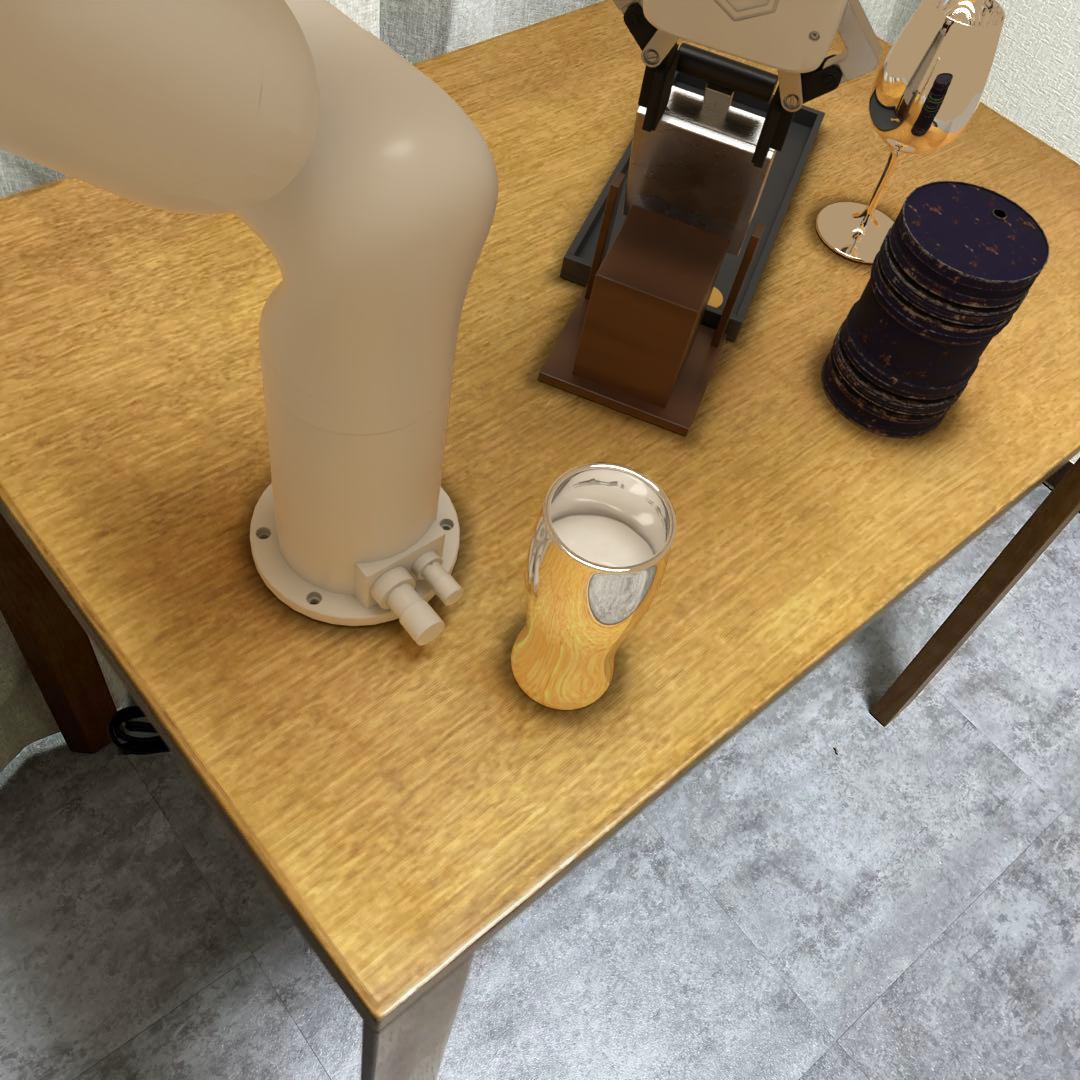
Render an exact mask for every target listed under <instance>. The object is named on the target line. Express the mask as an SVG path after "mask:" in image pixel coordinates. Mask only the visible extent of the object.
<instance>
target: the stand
mask: <svg viewBox="0 0 1080 1080" xmlns="http://www.w3.org/2000/svg"><path fill="white" fill-rule="evenodd" d="M625 176H626V175H625V174H623V173H620V172H618V173H617V174H616V176H615V178H614V180H613V181H612V183H611V185H610V190H609V194H608V198H607V202H606V207H605V211H604V215H603V220H602V224H601V228H600V232H599V237H598V241H597V245H596V250H595V254H594V258H593V262H592V267H591V271H590V275H589V279H588V284H587V286H584V287H585V288H584V289H583V290H582V293H581V294H580V296H579V298H578V301H577V302H576V304H575V306H574V308H573V310H572V312H571V313H570V315H569V317H568V318H567V321H566V322H565V324H564V326H563V328H562V330H561V332H560V333H559V335H558V337H557V339H556V341H555V342H554V344H553V346H552V348H551V350H550V352H549V354H548V355H547V357H546V359H545V361H544V363H543V365H542V366H541V368H540V370H539V373H538V378H537V379H538V381H540V382H543V383H546V384H548V385H550V386H554V387H556V388H559V389H561V390H564V391H567V392H569V393H572V394H574V395H577V396H579V397H582V398H585V399H587V400H590V401H592V402H595V403H598V404H600V405H603V406H606V407H608V408H611V409H613V410H617V411H619V412H622V413H624V414H627V415H629V416H632V417H634V418H637V419H640V420H642V421H646V422H648V423H650V424H653V425H655V426H658V427H660V428H663V429H667V430H668V431H671V432H674V433H677V434H679V435H682V436H684V437H687V436H688V434H689V431H690V429H691V426H692V425H693V422H694V420H695V417H696V414H697V412H698V409H699V407H700V404H701V402H702V400H703V397H704V395H705V392H706V389H707V387H708V385H709V382H710V379H711V377H712V374H713V372H714V370H715V367H716V365H717V363H718V360H719V357H720V355H721V352H722V350H723V347H724V345H725V342H726V340H727V339H726V338H727V334H725V333H724V331H725V329H726V326H727V324H728V321H729V318H730V316H731V313H732V311H733V308H734V305H735V303H736V300H737V298H738V295H739V292H740V290H741V287H742V285H743V282H744V279H745V277H746V274H747V272H748V269H749V266H750V264H751V261H752V259H753V256H754V253H755V251H756V248H757V246H758V243H759V240H760V238H761V235H762V233H763V230H764V227H765V225H764V224H762V223H759V222H757V223H756V225H755V228H754V230H753V233H752V235H751V238H750V240H749V243H748V246H747V248H746V251H745V254H744V256H743V259H742V262H741V264H740V267H739V270H738V272H737V275H736V278H735V280H734V283H733V286H732V288H731V291H730V294H729V296H728V299H727V302H726V304H725V307H724V310H723V312H722V315H721V318H720V320H719V323H718V326H717V328H716V330H715V329H712V328H709V327H707V326H704V325H701V321H702V318H703V316H704V313H705V310H706V307H707V304H708V302H709V299H710V296H711V293H712V290H713V288H714V285H715V282H716V279H717V276H718V274H719V271H720V268H721V265H722V262H723V260H724V257H725V254H726V251H727V248H728V246H729V243H730V239H727V238H725V237H722V236H719V235H716V234H714V233H711V232H708V231H705V230H703V229H700V228H697V227H694V226H692V225H689V224H686V223H683V222H681V221H678V220H675V219H672V218H670V217H667V216H664V215H661V214H659V213H656V212H653V211H650V210H648V209H645V208H642V207H639V206H636V205H633V207H632V208H631V210H630V212H629V214H628V216H627V218H626V219H625V221H624V223H623V225H622V227H621V229H620V231H619V232H618V234H617V236H616V238H615V240H614V242H613V243H612V245H611V247H610V249H609V251H608V253H607V250H608V246H609V242H610V238H611V234H612V230H613V225H614V221H615V217H616V213H617V209H618V205H619V201H620V197H621V193H622V189H623V185H624V181H625ZM606 254H607V255H606Z"/></svg>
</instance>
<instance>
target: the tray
mask: <svg viewBox="0 0 1080 1080" xmlns="http://www.w3.org/2000/svg"><path fill="white" fill-rule="evenodd" d="M707 84H708V82H705V81H702V80H699V79H696V78H693V77H690V76H687V75H685V74H682V73H679V72H675V77H674V81H673V86H675V87H678V88H681V89H684V90H687V91H690V92H693V93H695V94H698V95H701V96H704V93H705V89H706V86H707ZM773 96H774V94H773ZM773 96H772V98H771V101H772V99H773ZM771 101H770V103H765V102H762V101H759V100H756V99H753V98H751V97H748V96H745V95H742V94H739V93H736V92H734V94H733V98H732V102H731V105H730V106H733V107H735V108H738V109H741V110H744V111H747V112H750V113H753V114H755V115H758V116H761V117H764V118H765V117H766V114H767V111H768V109H769V106H770V104H771ZM825 116H826V112H824V111H821V110H819V109H816V108H812V107H810V106H807V105H804V104H802V107H801V108H800V109H799V110H798V111H796V112H795V114H794V117H793V119H792V122H791V125H790V128H789V131H788V134H787V137H786V139H785V142H784V145H783V147H782V150H781V152H780V151H777V150H776V153H775V156H774V159H773V162H772V165H771V168H770V171H769V173H768V176H767V179H766V182H765V185H764V188H763V191H762V194H761V196H760V199H759V202H758V205H757V208H756V210H755V213H754V215H753V218H752V220H751V222H750V225H749V227H748V230H747V233H746V236H745V238H744V241H743V244H742V247H741V250H740V252H739V255H738V256H736V255H733V254H730V253H727V252H726V254H725V257H724V260H723V262H722V265H721V268H720V271H719V274H718V276H717V279H716V282H715V285H714V287H715V288H717V289H718V290H719V291H720V292H721V294H722V296H723V303H722V305H721V308H720V309H718V308H715V307H713V306H710V305H707V307H706V310H705V313H704V316H703V318H702V321H701V325H704V326H707V327H709V328H712V329H715V330H716V328H717V326H718V323H719V320H720V318H721V315H722V312H723V310H724V307H725V304H726V302H727V299H728V296H729V294H730V291H731V288H732V286H733V283H734V280H735V278H736V275H737V272H738V270H739V267H740V264H741V262H742V259H743V256H744V254H745V251H746V248H747V246H748V243H749V240H750V238H751V235H752V233H753V230H754V228H755V225H756V223H757V222H759V223H762V224H764V225H765V227H764V230H763V233H762V235H761V238H760V240H759V243H758V246H757V248H756V251H755V253H754V256H753V259H752V261H751V264H750V266H749V269H748V272H747V274H746V277H745V279H744V282H743V285H742V287H741V290H740V292H739V295H738V298H737V300H736V303H735V305H734V308H733V311H732V313H731V316H730V318H729V321H728V324H727V326H726V329H725V331H724V333H725V334H727V338H726V340H728V341H730V342H731V341H732V342H733V343H735V342H736V341H737V338H738V335H739V333H740V330H741V328H742V325H743V323H744V320H745V318H746V315H747V313H748V310H749V307H750V305H751V303H752V300H753V297H754V295H755V292H756V290H757V287H758V285H759V282H760V280H761V277H762V275H763V272H764V270H765V267H766V265H767V262H768V260H769V257H770V254H771V252H772V249H773V247H774V245H775V242H776V240H777V237H778V234H779V232H780V229H781V227H782V224H783V222H784V219H785V217H786V214H787V211H788V209H789V207H790V204H791V201H792V198H793V196H794V194H795V192H796V189H797V186H798V184H799V182H800V179H801V176H802V174H803V172H804V169H805V166H806V163H807V162H808V159H809V156H810V154H811V151H812V149H813V146H814V144H815V141H816V139H817V136H818V133H819V131H820V128H821V126H822V123H823V121H824V118H825ZM632 142H633V137H632V138H631V140H630V142H629V143H628V145H627V147H626V149H625V150H624V152H623V154H622V155H621V157H620V159H619V161H618V162H617V164H616V165H615V168H614V169H613V171H612V173H611V175H610V177H609V178H608V180H607V182H606V184H605V185H604V187H603V188H602V190H601V192H600V194H599V196H598V197H597V199H596V201H595V203H594V204H593V206H592V208H591V209H590V211H589V213H588V214H587V216H586V218H585V219H584V222H583V223H582V225H581V227H580V229H579V230H578V232H577V234H576V235H575V237H574V239H573V240H572V242H571V244H570V246H569V247H568V249H567V251H566V253H565V254H564V256H563V260H562V265H561V270H560V274H559V277H560V278H562V279H565V280H568V281H570V282H572V283H576V284H578V285H581V286H584V287H586V286H587V284H588V279H589V275H590V271H591V267H592V262H593V258H594V254H595V250H596V245H597V241H598V237H599V232H600V228H601V224H602V220H603V215H604V211H605V207H606V202H607V198H608V194H609V190H610V185H611V183H612V181H613V180H614V178H615V176H616V174H617V173H618V172H620V173H623V174H625V175H626V176H625V181H624V185H623V189H622V193H621V197H620V201H619V205H618V209H617V213H616V217H615V221H614V225H613V230H612V234H611V238H610V242H609V246H608V250H607V253H608V251H609V249H610V247H611V245H612V243H613V242H614V240H615V238H616V236H617V234H618V232H619V231H620V229H621V227H622V225H623V223H624V221H625V219H626V218H627V216H626V215H623V208H624V201H625V194H626V186H627V179H628V171H629V164H630V156H631V149H632ZM606 255H607V254H606Z"/></svg>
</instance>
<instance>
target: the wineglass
mask: <svg viewBox="0 0 1080 1080" xmlns="http://www.w3.org/2000/svg"><path fill="white" fill-rule="evenodd" d="M1005 13H1006V12H1005V11H1004V8H1003V7H1002V6H1001V4H1000V3H999V2H998V1H997V0H922V1H921V2H920V3H919V5H918V6H917V8H916V9H915V10H914V12H913V14H912V15H910V17H909V19H908V21H907V22H906V23H905V25H904V26H903V28H902V29H901V31H900V32H899V34H898V35H897V37H896V39H894V41H893V43H892V44H891V46H890V47H889V50H888V51H887V52H886V54H885V56H884V58H883V59H882V61H881V64H880V66H879V67H878V70H877V72H876V73H875V76H874V77H873V81H872V84H871V86H870V90H869V93H868V113H869V117H870V121H871V126H872V128H873V129H874V131H875V133H876V134H877V135H878V137H879V138H880V140H881V141H882V142H883V143H884V144H885V145H887V146H888V147H889V148H890V150H889V154H888V159H887V162H886V164H885V166H884V168H883V171H882V174H881V175H880V177H879V180H878V181H877V184H876V186H875V188H874V190H873V193H872V195H871V197H870V199H869V201H868V204H867V205H866V204H863V203H859V202H853V201H852V202H851V201H840V202H833V203H831V204H828V205H826V206H825V207H823V208H821V210H820V211H819V212H818V214H817V216H816V218H815V229H816V232H817V234H818V236H819V237H820V239H821V240H822V242H823V243H824V244H825V245H826V246H827V247H829V248H830V249H831V250H832V251H834V252H835V253H837V254H839V255H840V256H842V257H844V258H846V259H849V260H851V261H855V262H858V263H862V264H863V263H864V264H872V265H873V261H874V259H875V256H876V254H877V253H878V252H879V250H880V247H881V245H882V243H883V241H884V239H885V237H886V235H887V233H888V231H889V229H890V228H891V226H892V225H893V224H894V222H895V221H893V219H892V218H890V217H889V216H888V215H887V214H885V213H883V212H882V211H880V210H878V209H877V206H878V204H879V202H880V200H881V199H882V196H883V194H884V193H885V192H884V191H885V190H886V188H887V185H888V183H889V181H890V179H891V177H892V175H893V173H894V171H895V169H896V167H897V166H898V165H899V163H900V161H901V160H902V159H903V157H904V156H905V155H907V154H908V155H923V154H928V153H933V152H936V151H938V150H940V149H942V148H944V147H946V146H947V145H950V144H951V143H952V142H954V141H955V140H956V139H957V138H958V137H959V136H960V135H962V133H963V132H964V131H965V130H966V129H967V127H968V126H969V124H970V122H971V121H972V119H973V118H974V116H975V113H976V112H977V109H978V107H979V106H980V102H981V100H982V97H983V95H984V92H985V89H986V86H987V83H988V81H989V80H988V79H989V77H990V73H991V70H992V67H993V63H994V60H995V56H996V53H997V49H998V47H999V43H1000V39H1001V34H1002V30H1003V26H1004V23H1005V19H1006V14H1005Z"/></svg>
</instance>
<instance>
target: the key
mask: <svg viewBox="0 0 1080 1080" xmlns="http://www.w3.org/2000/svg"><path fill="white" fill-rule="evenodd" d="M722 303H723V296H722V294H721V292H720V291H719V290H718V289H717V288H715V287H714V288H713V290H712V293H711V296H710V299H709V302H708V304H707V305H710V306H713V307H715V308H718V309H720V308H721V305H722Z"/></svg>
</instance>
